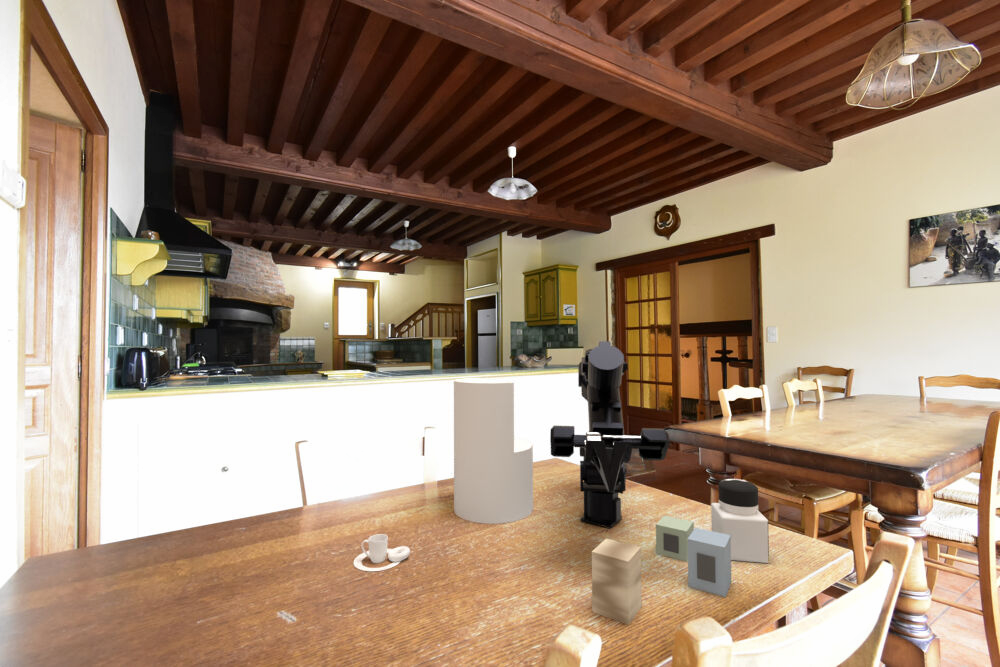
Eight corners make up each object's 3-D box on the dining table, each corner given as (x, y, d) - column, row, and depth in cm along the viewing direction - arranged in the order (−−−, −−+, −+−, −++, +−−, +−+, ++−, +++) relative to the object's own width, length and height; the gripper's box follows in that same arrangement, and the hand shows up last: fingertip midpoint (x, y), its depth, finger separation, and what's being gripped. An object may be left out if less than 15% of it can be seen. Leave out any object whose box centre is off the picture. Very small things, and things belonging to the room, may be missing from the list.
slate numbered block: (687, 587, 67) (687, 539, 67) (695, 572, 71) (695, 527, 71) (725, 598, 64) (724, 548, 64) (731, 582, 68) (730, 535, 68)
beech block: (592, 611, 61) (591, 551, 61) (606, 595, 65) (606, 538, 65) (629, 625, 58) (628, 561, 58) (641, 606, 62) (640, 547, 62)
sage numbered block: (655, 554, 77) (655, 524, 77) (664, 543, 82) (664, 515, 82) (686, 562, 74) (686, 531, 75) (694, 550, 79) (693, 521, 79)
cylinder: (476, 530, 87) (475, 384, 88) (441, 503, 102) (441, 379, 103) (549, 513, 96) (548, 380, 97) (507, 490, 111) (506, 376, 112)
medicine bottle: (769, 564, 74) (768, 489, 74) (722, 560, 75) (721, 487, 75) (754, 545, 81) (753, 477, 81) (711, 541, 82) (710, 474, 82)
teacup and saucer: (415, 556, 78) (415, 531, 78) (390, 578, 70) (390, 552, 70) (372, 548, 81) (372, 525, 81) (343, 569, 73) (343, 544, 73)
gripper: (652, 434, 84) (666, 517, 73) (552, 431, 87) (550, 511, 76) (662, 398, 77) (678, 484, 66) (551, 395, 79) (549, 478, 68)
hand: (611, 491), depth 69 cm, fingers closed
